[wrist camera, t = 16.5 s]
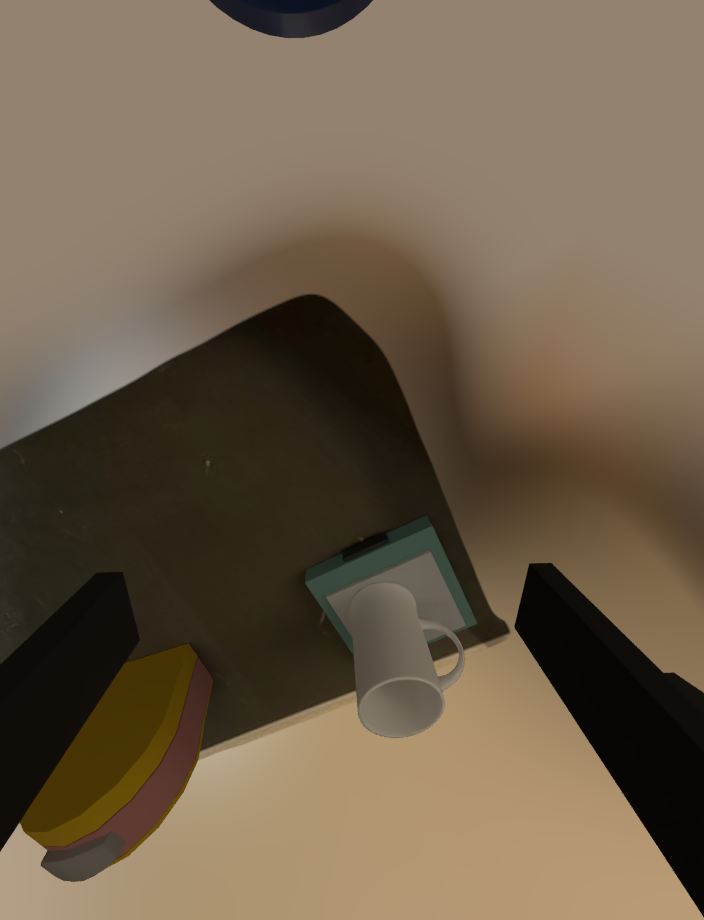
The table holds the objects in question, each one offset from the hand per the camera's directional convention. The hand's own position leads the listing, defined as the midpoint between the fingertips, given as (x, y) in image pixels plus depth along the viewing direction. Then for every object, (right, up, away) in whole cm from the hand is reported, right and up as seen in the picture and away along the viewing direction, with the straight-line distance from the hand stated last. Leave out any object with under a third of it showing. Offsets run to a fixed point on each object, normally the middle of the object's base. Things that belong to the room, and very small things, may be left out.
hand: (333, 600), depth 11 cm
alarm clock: (-26, -26, +36) cm, 52 cm away
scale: (+6, -13, +33) cm, 36 cm away
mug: (+6, -14, +30) cm, 34 cm away
